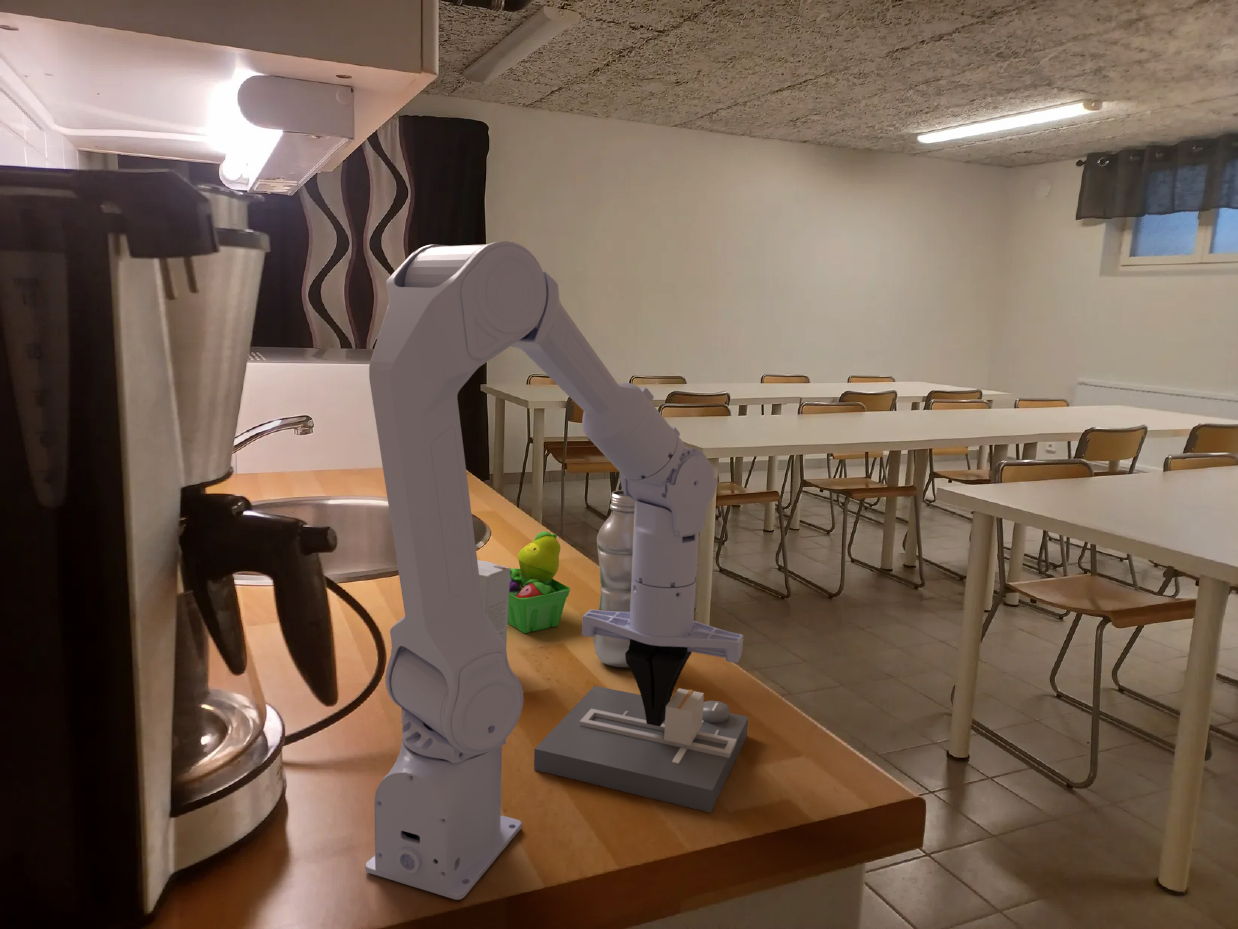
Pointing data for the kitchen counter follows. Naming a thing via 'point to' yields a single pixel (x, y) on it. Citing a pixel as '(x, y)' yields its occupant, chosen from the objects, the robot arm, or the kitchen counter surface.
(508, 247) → the robot arm
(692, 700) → the fader cap
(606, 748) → the console
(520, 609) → the fruit basket
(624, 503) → the plastic bottle
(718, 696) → the kitchen counter surface
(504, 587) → the skincare box
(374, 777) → the kitchen counter surface
